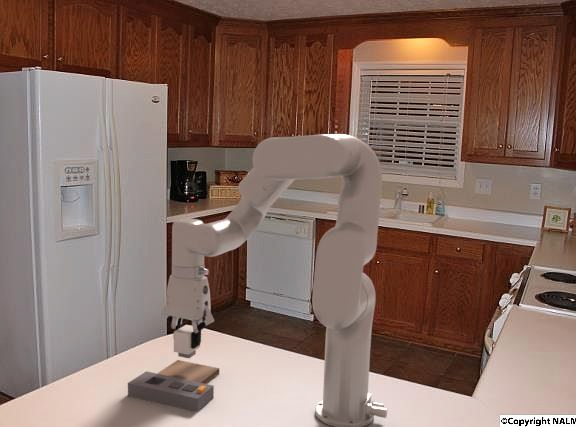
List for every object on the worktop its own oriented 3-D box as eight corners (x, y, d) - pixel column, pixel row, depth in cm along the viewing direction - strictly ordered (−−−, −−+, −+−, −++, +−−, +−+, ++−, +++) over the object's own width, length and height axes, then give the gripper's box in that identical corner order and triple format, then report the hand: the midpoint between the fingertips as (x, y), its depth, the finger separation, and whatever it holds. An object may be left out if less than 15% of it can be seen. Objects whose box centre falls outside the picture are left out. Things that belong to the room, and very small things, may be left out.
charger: (200, 352, 141) (200, 327, 140) (188, 360, 136) (188, 334, 135) (185, 349, 142) (186, 324, 141) (173, 357, 137) (173, 331, 136)
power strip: (213, 398, 129) (213, 382, 129) (197, 411, 123) (197, 395, 122) (146, 383, 136) (146, 368, 135) (127, 395, 129) (127, 379, 129)
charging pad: (219, 374, 142) (219, 368, 142) (198, 390, 133) (198, 384, 133) (177, 365, 147) (177, 359, 146) (154, 380, 137) (154, 374, 137)
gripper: (226, 272, 137) (225, 345, 139) (166, 263, 143) (166, 334, 145) (211, 279, 130) (209, 356, 132) (148, 270, 136) (148, 344, 138)
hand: (187, 344), depth 139 cm, fingers closed on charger, 4 cm apart
